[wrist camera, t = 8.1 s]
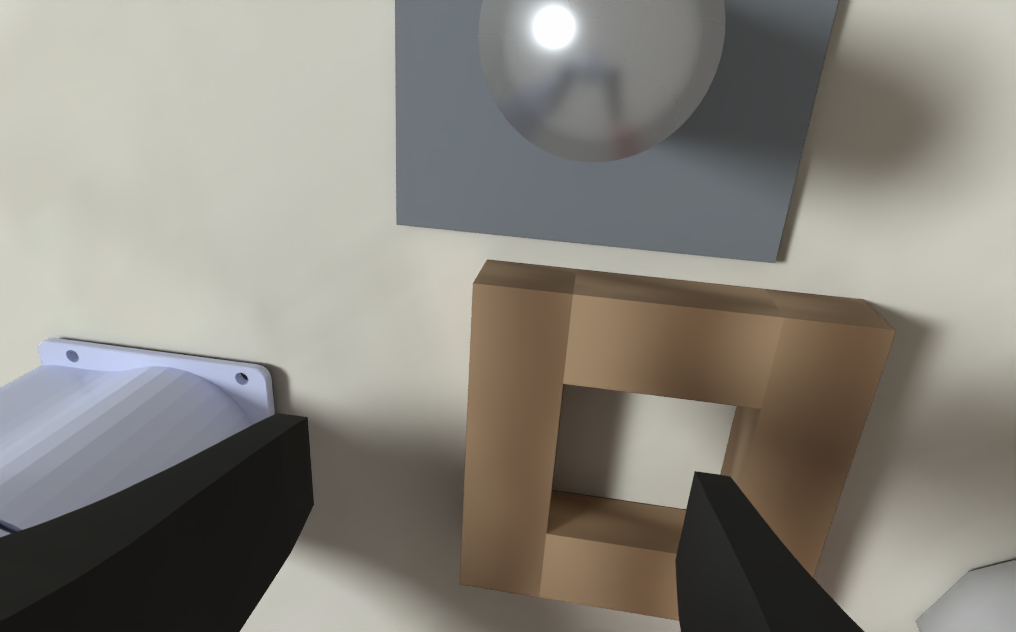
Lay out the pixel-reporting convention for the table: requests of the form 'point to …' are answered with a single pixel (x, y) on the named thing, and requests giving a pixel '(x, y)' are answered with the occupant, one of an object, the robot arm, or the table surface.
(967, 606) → the flask
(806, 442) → the pocket block
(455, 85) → the slate mat
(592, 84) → the peg
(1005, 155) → the table surface
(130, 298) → the table surface
